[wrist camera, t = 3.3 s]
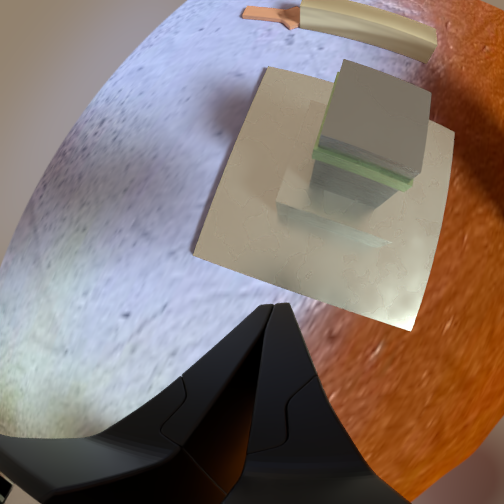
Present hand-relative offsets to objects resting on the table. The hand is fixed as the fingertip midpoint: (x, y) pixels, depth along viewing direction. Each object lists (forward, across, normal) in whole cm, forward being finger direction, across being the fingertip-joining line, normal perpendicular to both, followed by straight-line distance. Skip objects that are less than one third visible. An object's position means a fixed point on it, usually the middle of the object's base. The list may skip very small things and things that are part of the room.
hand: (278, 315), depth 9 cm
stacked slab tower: (+15, -3, +1) cm, 15 cm away
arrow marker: (+23, 0, -15) cm, 28 cm away
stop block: (+23, -8, -12) cm, 27 cm away
